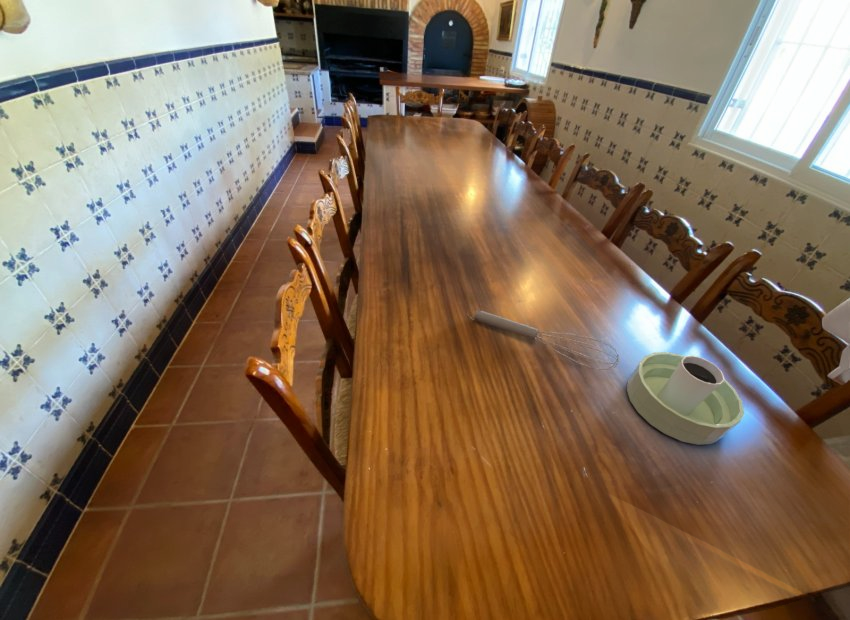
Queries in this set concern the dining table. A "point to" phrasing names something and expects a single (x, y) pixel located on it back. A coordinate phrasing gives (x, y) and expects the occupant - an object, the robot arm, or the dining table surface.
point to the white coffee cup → (690, 384)
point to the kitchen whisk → (531, 333)
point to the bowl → (695, 428)
